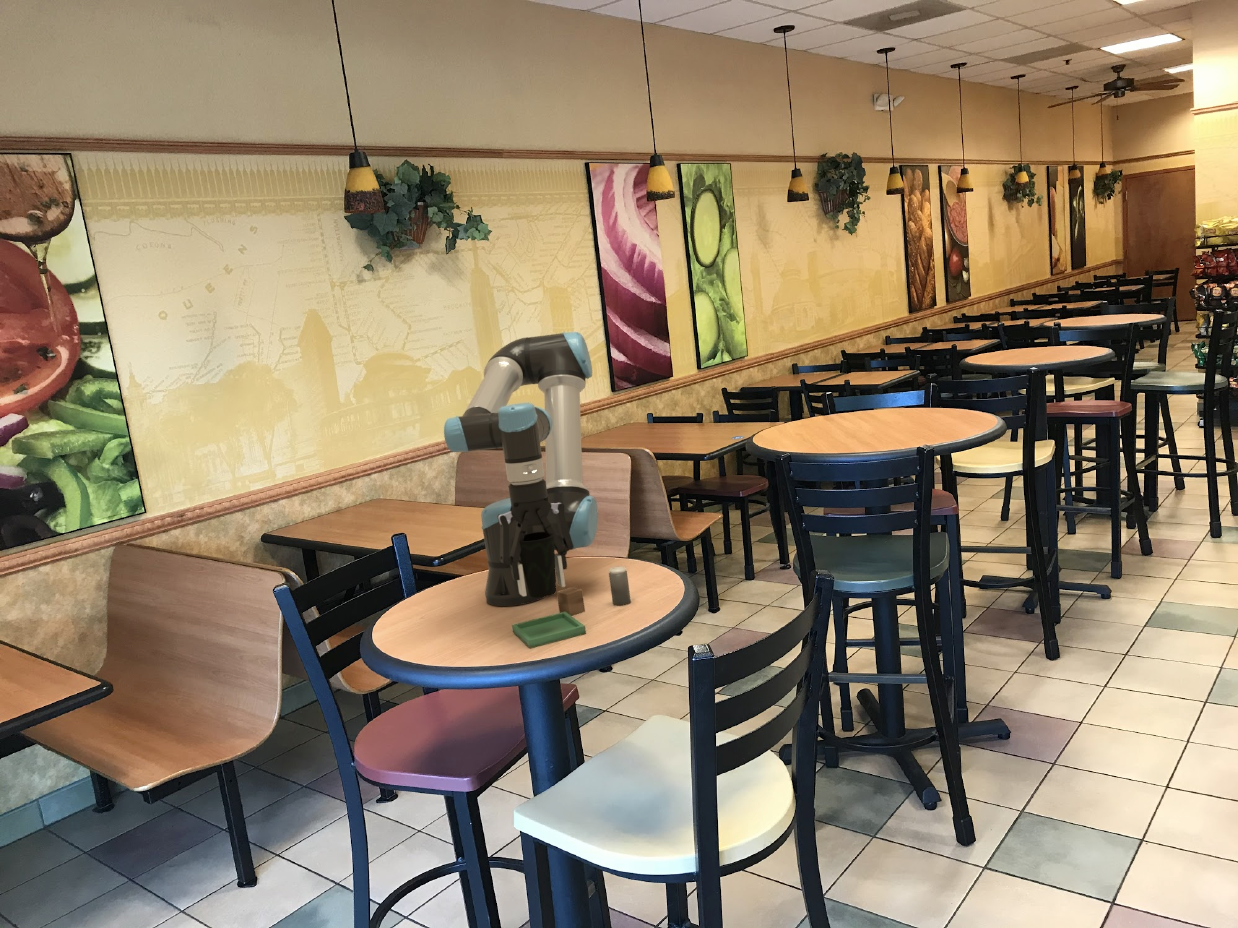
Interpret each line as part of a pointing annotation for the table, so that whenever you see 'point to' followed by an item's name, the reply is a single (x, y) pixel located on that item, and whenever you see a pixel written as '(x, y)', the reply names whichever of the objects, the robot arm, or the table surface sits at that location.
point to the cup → (539, 563)
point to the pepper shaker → (619, 586)
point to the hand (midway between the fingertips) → (542, 589)
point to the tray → (548, 629)
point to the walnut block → (571, 601)
